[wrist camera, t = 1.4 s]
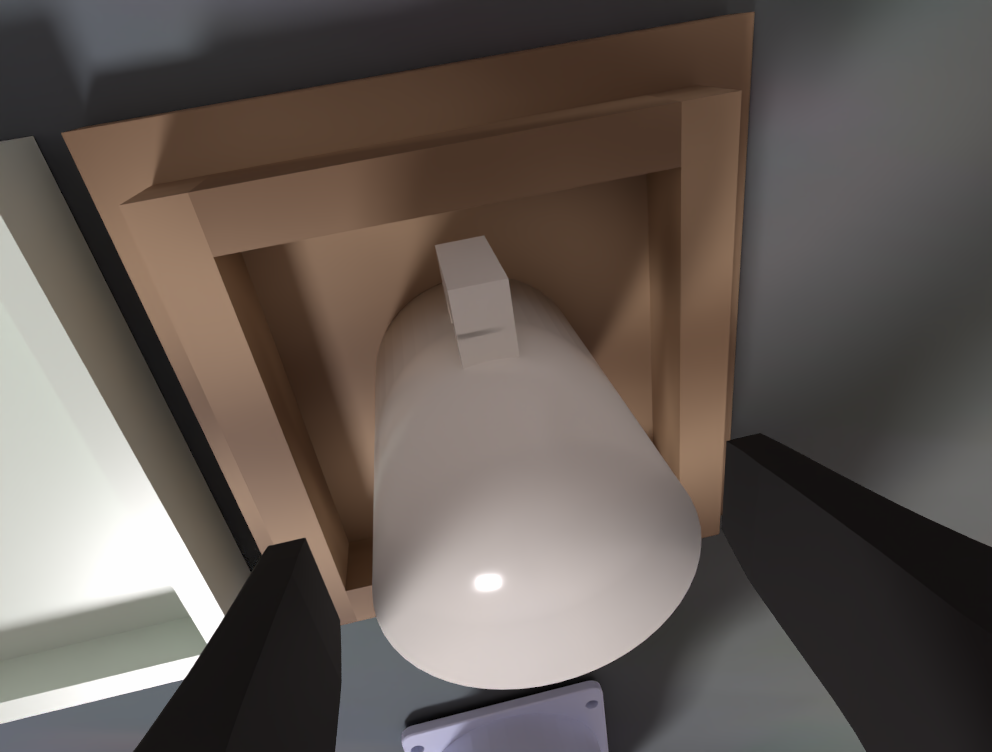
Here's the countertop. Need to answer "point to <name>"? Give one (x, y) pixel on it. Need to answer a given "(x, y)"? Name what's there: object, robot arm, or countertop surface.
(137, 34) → the countertop surface
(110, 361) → the tray
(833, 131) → the countertop surface
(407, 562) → the white rounded piece
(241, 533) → the countertop surface
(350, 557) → the tray
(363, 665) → the countertop surface
